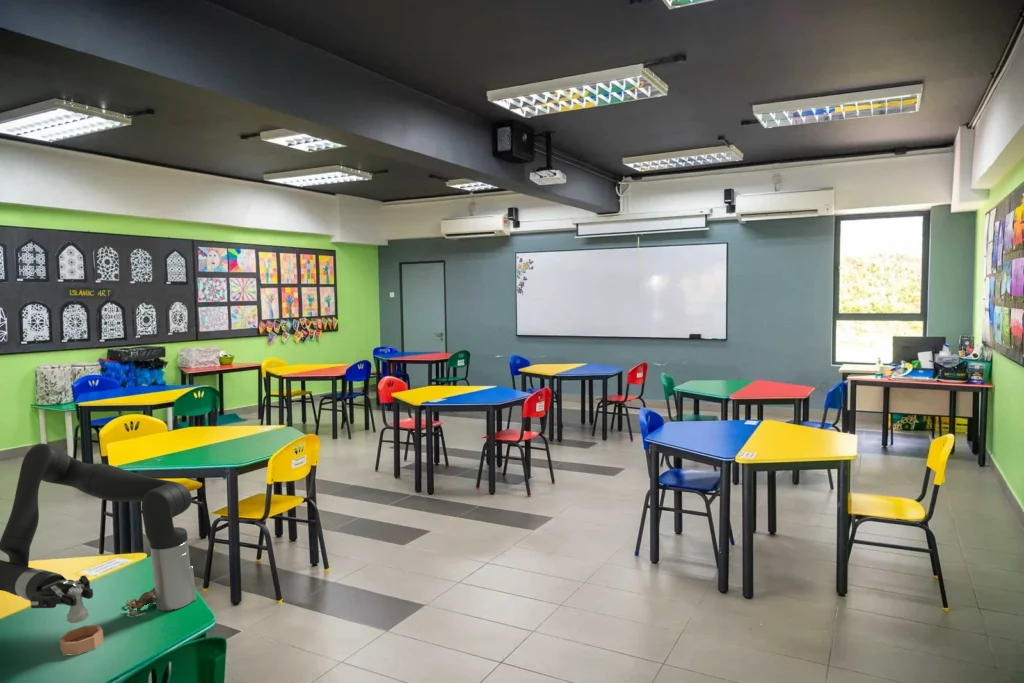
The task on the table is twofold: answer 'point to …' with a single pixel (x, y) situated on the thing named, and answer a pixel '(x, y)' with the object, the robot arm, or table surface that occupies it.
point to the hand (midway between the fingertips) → (83, 597)
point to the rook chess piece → (77, 606)
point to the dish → (81, 639)
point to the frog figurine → (141, 602)
